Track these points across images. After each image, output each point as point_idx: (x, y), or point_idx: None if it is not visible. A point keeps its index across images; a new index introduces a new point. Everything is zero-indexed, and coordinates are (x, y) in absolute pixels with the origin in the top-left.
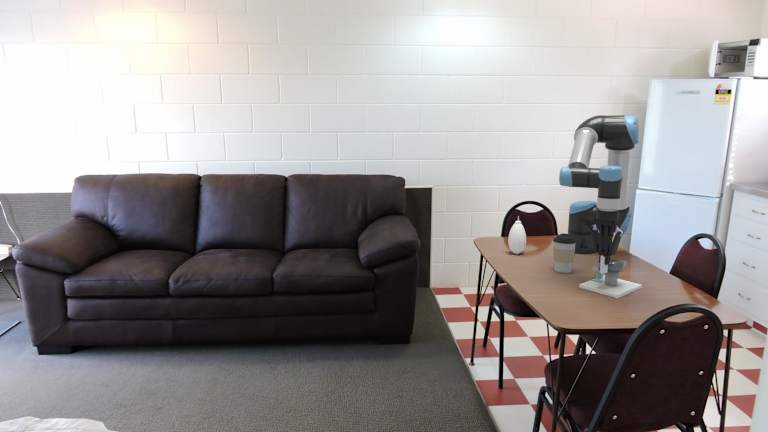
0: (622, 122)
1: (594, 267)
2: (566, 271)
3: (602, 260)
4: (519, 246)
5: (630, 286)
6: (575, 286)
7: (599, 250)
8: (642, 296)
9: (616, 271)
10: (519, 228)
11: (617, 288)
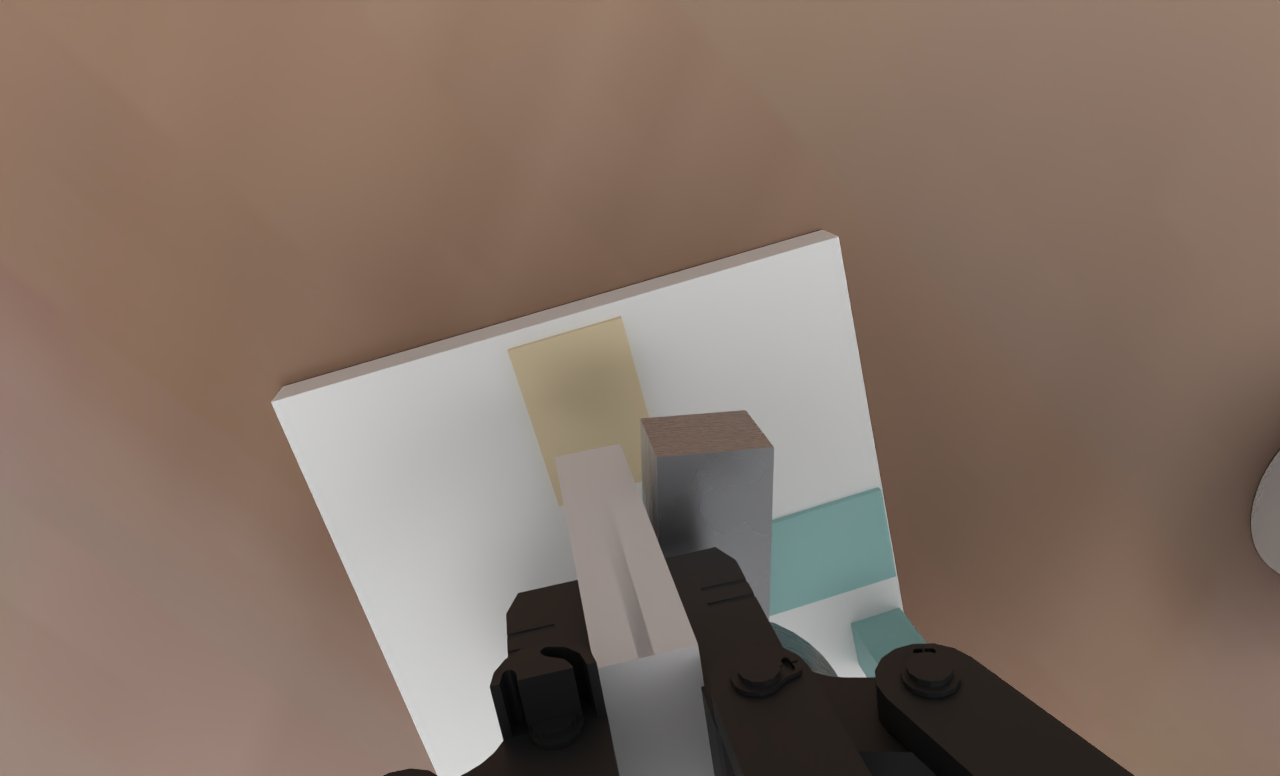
0: None
1: (735, 429)
2: (1277, 478)
3: (614, 587)
4: None
5: None
6: (871, 210)
7: (811, 737)
8: (252, 706)
9: None
10: None
11: (494, 581)
